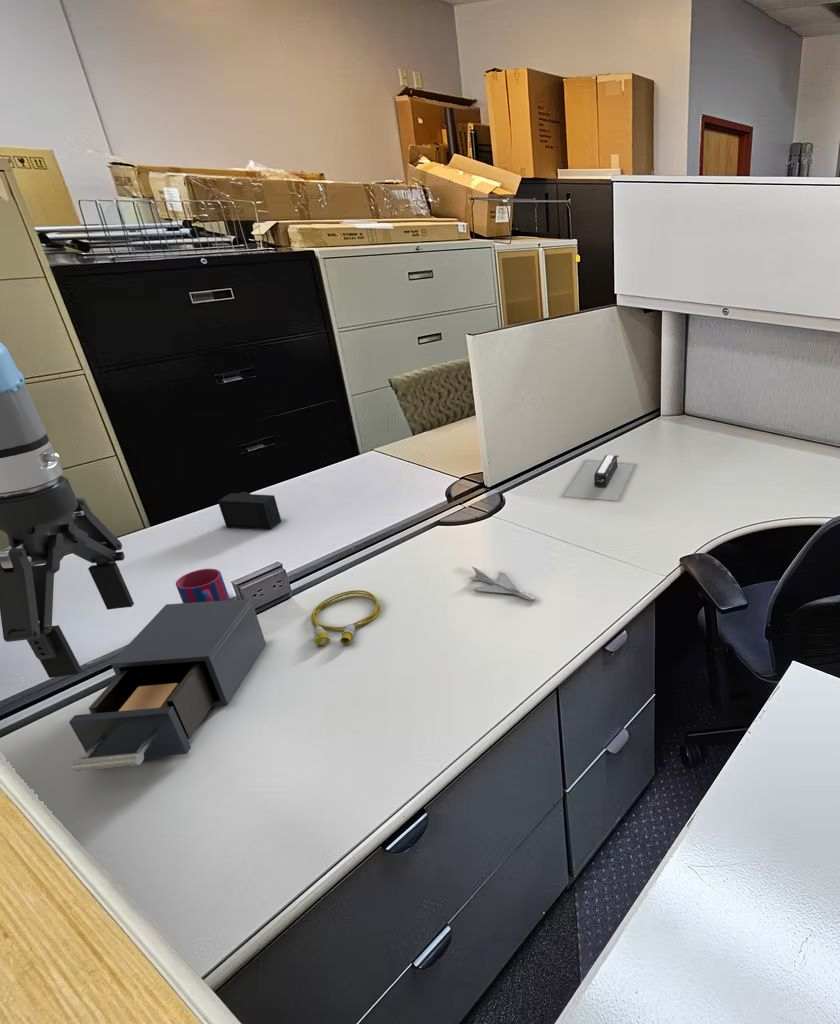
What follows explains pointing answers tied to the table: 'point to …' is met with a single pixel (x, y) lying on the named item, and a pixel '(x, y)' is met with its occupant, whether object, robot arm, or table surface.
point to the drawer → (144, 717)
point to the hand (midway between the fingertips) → (95, 638)
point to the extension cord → (348, 630)
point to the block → (150, 697)
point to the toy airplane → (499, 585)
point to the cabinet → (201, 641)
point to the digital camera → (249, 511)
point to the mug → (202, 586)
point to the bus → (600, 479)
